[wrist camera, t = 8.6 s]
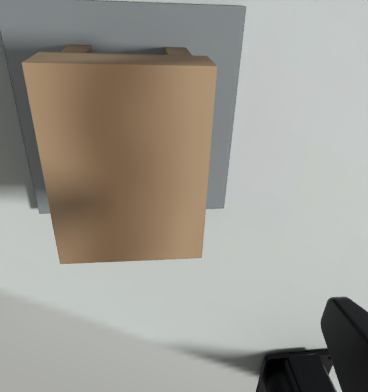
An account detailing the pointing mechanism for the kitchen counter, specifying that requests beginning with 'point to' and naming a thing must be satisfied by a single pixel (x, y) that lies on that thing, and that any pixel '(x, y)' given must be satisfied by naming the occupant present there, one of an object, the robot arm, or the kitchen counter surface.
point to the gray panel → (127, 44)
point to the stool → (123, 150)
